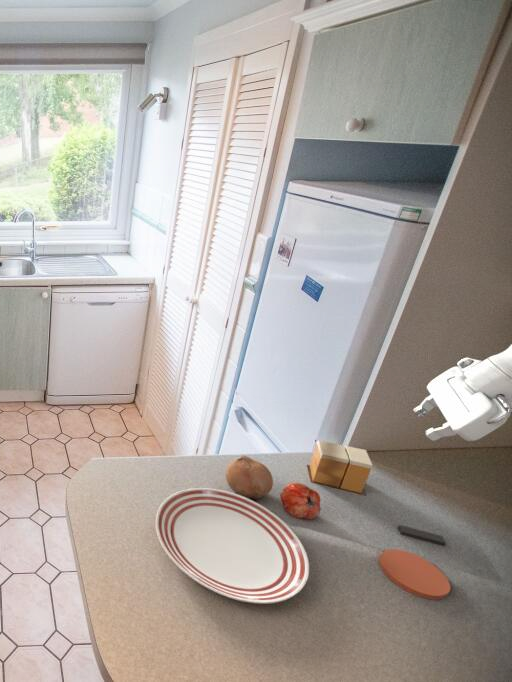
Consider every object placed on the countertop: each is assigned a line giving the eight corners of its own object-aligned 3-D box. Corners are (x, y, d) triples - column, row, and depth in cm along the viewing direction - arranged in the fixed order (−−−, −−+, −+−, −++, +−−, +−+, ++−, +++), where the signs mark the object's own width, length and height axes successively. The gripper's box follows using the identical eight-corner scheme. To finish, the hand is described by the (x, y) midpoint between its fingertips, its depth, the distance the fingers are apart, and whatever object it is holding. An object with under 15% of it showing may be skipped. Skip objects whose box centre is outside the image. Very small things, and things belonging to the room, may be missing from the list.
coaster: (436, 563, 87) (438, 560, 87) (457, 608, 79) (460, 604, 78) (372, 546, 91) (374, 542, 91) (387, 586, 83) (388, 582, 82)
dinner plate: (316, 638, 74) (321, 625, 73) (144, 577, 85) (146, 565, 83) (295, 522, 97) (299, 510, 96) (162, 485, 108) (164, 474, 106)
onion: (227, 493, 109) (220, 452, 110) (271, 491, 106) (264, 449, 106) (232, 507, 100) (225, 462, 101) (280, 506, 97) (272, 460, 97)
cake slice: (355, 477, 109) (366, 450, 105) (361, 493, 104) (372, 465, 100) (335, 472, 110) (345, 445, 107) (340, 488, 105) (351, 460, 102)
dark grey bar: (438, 540, 92) (442, 535, 92) (443, 549, 90) (446, 543, 90) (320, 509, 100) (322, 504, 100) (322, 517, 98) (324, 511, 98)
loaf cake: (358, 479, 109) (370, 449, 105) (366, 498, 103) (378, 467, 100) (305, 467, 113) (315, 438, 110) (309, 484, 107) (319, 454, 104)
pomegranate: (269, 510, 103) (288, 515, 94) (274, 477, 105) (293, 480, 95) (305, 520, 101) (328, 526, 92) (310, 487, 103) (332, 490, 93)
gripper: (534, 423, 79) (451, 463, 87) (489, 373, 95) (422, 411, 103) (500, 398, 80) (422, 441, 88) (461, 354, 96) (398, 393, 104)
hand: (422, 425), depth 95 cm, fingers open, 8 cm apart
